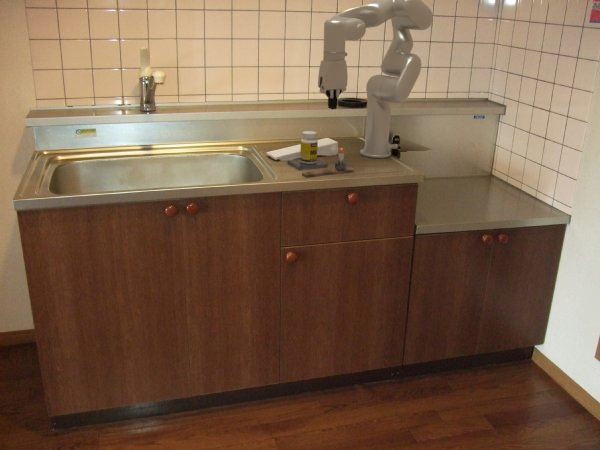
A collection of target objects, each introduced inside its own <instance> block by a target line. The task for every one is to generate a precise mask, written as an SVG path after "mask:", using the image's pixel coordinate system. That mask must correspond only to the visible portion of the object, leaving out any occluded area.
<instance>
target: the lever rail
mask: <svg viewBox="0 0 600 450" xmlns="http://www.w3.org/2000/svg"><path fill="white" fill-rule="evenodd" d="M354 172H355V169H354V168H353V167H349V166H348V167H347V166H346V169H342V170H338V169H336V168H332V169H322V170H314V171H305V172H303V171H302V173H301V175H302V177H304V178H313V177H314V178H315V177H322V176H329V175H332V176H333V175H340V174H349V173H354Z"/></svg>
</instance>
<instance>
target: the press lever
mask: <svg viewBox="0 0 600 450" xmlns="http://www.w3.org/2000/svg"><path fill="white" fill-rule="evenodd" d="M345 152H346V150H345V148H344V147H338V153H337V155H338V157H337V162H335V163H334V169H338V170H342V169H346V168H347V163H345V162H344V161H345V160H344V158H345Z"/></svg>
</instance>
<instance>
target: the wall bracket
mask: <svg viewBox="0 0 600 450" xmlns="http://www.w3.org/2000/svg"><path fill="white" fill-rule="evenodd" d="M317 140H318V148H317V156H326V157H329V156H330V157H331V156H337V155H338V149H339V147H338V145H339V142H338V141H337V140H333V139H331V138H329V137H325V138H320V139H317ZM300 150H301V143H299V144H296V145H291V146H288V147H283V148H280V149H275V150H271V151H267V152H266V156H268V157H270V158H272V159H273V160H275V161H277V160H279V161H281V162H284V161H287V160H294V159H300Z"/></svg>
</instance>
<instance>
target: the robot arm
mask: <svg viewBox="0 0 600 450" xmlns="http://www.w3.org/2000/svg"><path fill="white" fill-rule="evenodd" d="M389 20H391V21H390V23H391V26H392V27H391V28H392V36H393V37H392V41H391V43H390V45H389V48H388V49H387V51H386V52H385V55H384V57H383V59H382V61H381V64H380V70H381V72H382V73H383V74H376V75H375V74H374V75H373V76H370V77H369V79H368V80H367V82H366V85H365V86H366V87H365V88H366V100H367V103H366V104H367V109H366V121H365V137H364V147H363V148H362V149H360V150H359V154H360V155H361V156H364V157H366V158H367V157H368V158H373V159H374V158H376V159H383V158H389V157H391V156H392V151H391V150H395V149H396V150H397V149H398V147H399V145H398V144H397V143H393V144H392V143H389V140H390V130H391V126H390V125H391V120H392V119H391V118H392V109H391V106H390V103H393V104H394V103H395V104H403V103H405V101H407V99H409V96H410V94H411V93H412V90H413V89H414V87H415V85H416V82H417V81H418V78H419V76H420V73H421V71H422V60H421V58H420V56H418V55H417V54H415V53H411V52H412V50H413V48H414V40H413V36H412V34H411V31H410V30H415V31H417V30H418V31H425V30H427V29H429V28H430V27H431V25H432V23H433V20H434V16H433V12H432V9H431V8H430V7H429V6H428V5H427V4H426V3H425V2H424V1H422V0H374V1H372V2H370V3H367V4H363V5H359V6H357V7H353V8H352V7H351V8H349V9H345V10H343V11H341V12H339V13H337V14H335V15H334V16H332V17H331V18H330V19H327V20H325V22H324V24H323V25H324V26H323V54H322V55H323V57H322V60H320V64H319V68H318V76H317V77H318V78H317V79H318V80H317V87H318V88H319V91H318V92H319V93H320V94H323V95H325V96H326V97H327V108H328V109H331V110H337V108H338V99H339V97H340V95H341V94H342V93H344V92H346V91H347V86H348V76H349V75H348V64H347V60H346V59H345V58H346V57H348V52H346V41H351V42H352V41H353V42H354V41H355V42H356V41H358V40H361V39H363V37H364V36H365V34H366V30H367V28H369V29H370V28H375V27H379V26H381V25H382V24H384V23H386V22H387V21H389Z"/></svg>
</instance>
